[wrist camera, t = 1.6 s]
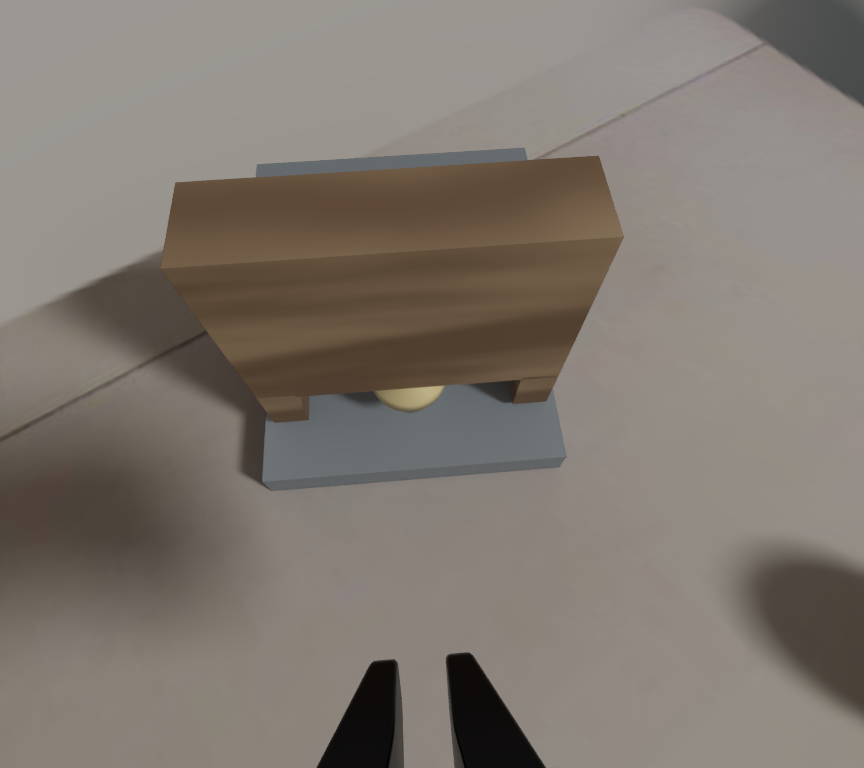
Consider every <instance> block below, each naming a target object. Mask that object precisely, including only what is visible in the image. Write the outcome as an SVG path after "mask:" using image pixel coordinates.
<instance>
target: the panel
mask: <svg viewBox="0 0 864 768" xmlns="http://www.w3.org/2000/svg"><path fill="white" fill-rule="evenodd" d="M623 238H624V235H623V232H622V229H621V226H620V223H619V219H618V216H617V213H616V210H615V207H614V203H613V200H612V197H611V194H610V190H609V187H608V184H607V181H606V178H605V174H604V171H603V168H602V165H601V162H600V158H599V156H587V157H572V158H556V159H540V160H524V161H508V162H493V163H477V164H461V165H445V166H429V167H414V168H398V169H382V170H366V171H350V172H335V173H319V174H303V175H287V176H272V177H256V178H242V179H241V178H240V179H226V180H225V179H224V180H208V181H193V182H177V183H175V188H174V194H173V199H172V205H171V210H170V216H169V222H168V228H167V234H166V239H165V245H164V250H163V256H162V262H161V267H160V269H161V270H162V272H163V273H164V274H165V276H166V277H167V278H168V280H169V281H170V282H171V284H172V285H173V286H174V288H175V289H176V291H177V292H178V293H179V295H180V296H181V297H182V299H183V300H184V301H185V303H186V304H187V305H188V307H189V308H190V309H191V311H192V312H193V313H194V315H195V316H196V318H197V319H198V320H199V322H200V323H201V324H202V326H203V327H204V328H205V330H206V331H207V332H208V334H209V335H210V336H211V338H212V339H213V341H214V342H215V343H216V345H217V346H218V347H219V349H220V350H221V351H222V353H223V354H224V355H225V357H226V358H227V359H228V361H229V362H230V363H231V365H232V366H233V368H234V369H235V370H236V372H237V373H238V374H239V376H240V377H241V378H242V380H243V381H244V382H245V384H246V385H247V386H248V388H249V389H250V391H251V392H252V393H253V395H254V396H255V397H256V399H257V400H258V401H259V403H260V404H261V405H262V407H263V408H264V409H265V411H266V412H267V413H268V415H269V416H270V418H271V419H272V420H273V422H274V423H280V422H293V421H305V420H309V396H316V395H329V394H342V393H355V392H368V391H381V390H394V389H407V388H420V387H433V386H446V385H459V384H472V383H485V382H498V381H509V384H510V390H511V396H512V403H513V404H522V403H535V402H546V401H547V399H548V397H549V395H550V393H551V390H552V388H553V386H554V384H555V382H556V380H557V378H558V376H559V373H560V371H561V369H562V367H563V365H564V363H565V361H566V359H567V357H568V354H569V352H570V350H571V348H572V346H573V344H574V342H575V340H576V337H577V335H578V333H579V331H580V329H581V327H582V325H583V323H584V320H585V318H586V316H587V314H588V312H589V310H590V308H591V306H592V303H593V301H594V299H595V297H596V295H597V293H598V291H599V289H600V287H601V284H602V282H603V280H604V278H605V276H606V274H607V272H608V270H609V267H610V265H611V263H612V261H613V259H614V257H615V255H616V253H617V250H618V248H619V246H620V244H621V242H622V240H623Z"/></svg>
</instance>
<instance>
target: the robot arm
mask: <svg viewBox="0 0 864 768" xmlns="http://www.w3.org/2000/svg"><path fill="white" fill-rule="evenodd" d="M446 669H447V684H448V698H449V710H450V721H451V733H452V744H453V755H454V766H455V768H546V767H545V765H544V764H543V762H542V761H541V759H540V758H539V756H538V755H537V753H536V752H535V750H534V749H533V747H532V745H531V744H530V742H529V741H528V739H527V738H526V736H525V735H524V733H523V732H522V730H521V728H520V727H519V725H518V724H517V722H516V721H515V719H514V718H513V716H512V715H511V713H510V712H509V710H508V708H507V707H506V705H505V704H504V702H503V701H502V699H501V698H500V696H499V695H498V693H497V692H496V690H495V688H494V687H493V685H492V684H491V682H490V681H489V679H488V678H487V676H486V675H485V673H484V671H483V670H482V668H481V667H480V665H479V664H478V662H477V661H476V659H475V658H474V656H473V655H472V654H471V653H467V652H466V653H456V654H449V655H448V656H447V657H446ZM317 768H404V750H403V713H402V697H401V687H400V678H399V669H398V663H397V661H396V660H394V659H391V660H380V661H374V662H372V663H371V664H370V666H369V668H368V669H367V671H366V673H365V675H364V677H363V679H362V681H361V683H360V685H359V687H358V689H357V691H356V693H355V695H354V696H353V698H352V700H351V702H350V704H349V706H348V708H347V710H346V712H345V714H344V716H343V718H342V720H341V722H340V724H339V725H338V727H337V729H336V731H335V733H334V735H333V737H332V739H331V741H330V743H329V745H328V747H327V749H326V751H325V752H324V754H323V756H322V758H321V760H320V762H319V764H318V766H317Z"/></svg>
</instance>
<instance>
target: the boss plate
mask: <svg viewBox="0 0 864 768" xmlns="http://www.w3.org/2000/svg"><path fill="white" fill-rule="evenodd" d="M524 160H527V156H526V151H525V148H513V149H497V150H481V151H465V152H449V153H433V154H417V155H401V156H385V157H369V158H353V159H338V160H321V161H305V162H289V163H274V164H258V165H257V170H256V177H272V176H287V175H303V174H319V173H335V172H350V171H366V170H382V169H398V168H414V167H429V166H445V165H461V164H477V163H493V162H508V161H524ZM565 458H566V452H565V447H564V442H563V437H562V432H561V427H560V422H559V417H558V412H557V408H556V403H555V398H554V393H553V388H552V390H551V393H550V395H549V397H548V399H547V401H546V402H535V403H522V404H513V403H512V396H511V390H510V384H509V381H498V382H485V383H472V384H459V385H446V386H433V387H420V388H407V389H394V390H381V391H368V392H355V393H342V394H329V395H316V396H309V420H305V421H293V422H280V423H274V422H273V420H272V419H271V418H270V416H269V415H268V413H267V412H266V423H265V440H264V457H263V474H262V482H263V483H264V484H265V485H266V486H267V487H268V488H269V489H270V490H272V491H276V490H288V489H300V488H312V487H324V486H336V485H349V484H361V483H373V482H385V481H397V480H409V479H421V478H433V477H445V476H457V475H469V474H482V473H494V472H506V471H518V470H530V469H542V468H554V467H560V465H561V464H562V462H563V461H564V460H565Z"/></svg>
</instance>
